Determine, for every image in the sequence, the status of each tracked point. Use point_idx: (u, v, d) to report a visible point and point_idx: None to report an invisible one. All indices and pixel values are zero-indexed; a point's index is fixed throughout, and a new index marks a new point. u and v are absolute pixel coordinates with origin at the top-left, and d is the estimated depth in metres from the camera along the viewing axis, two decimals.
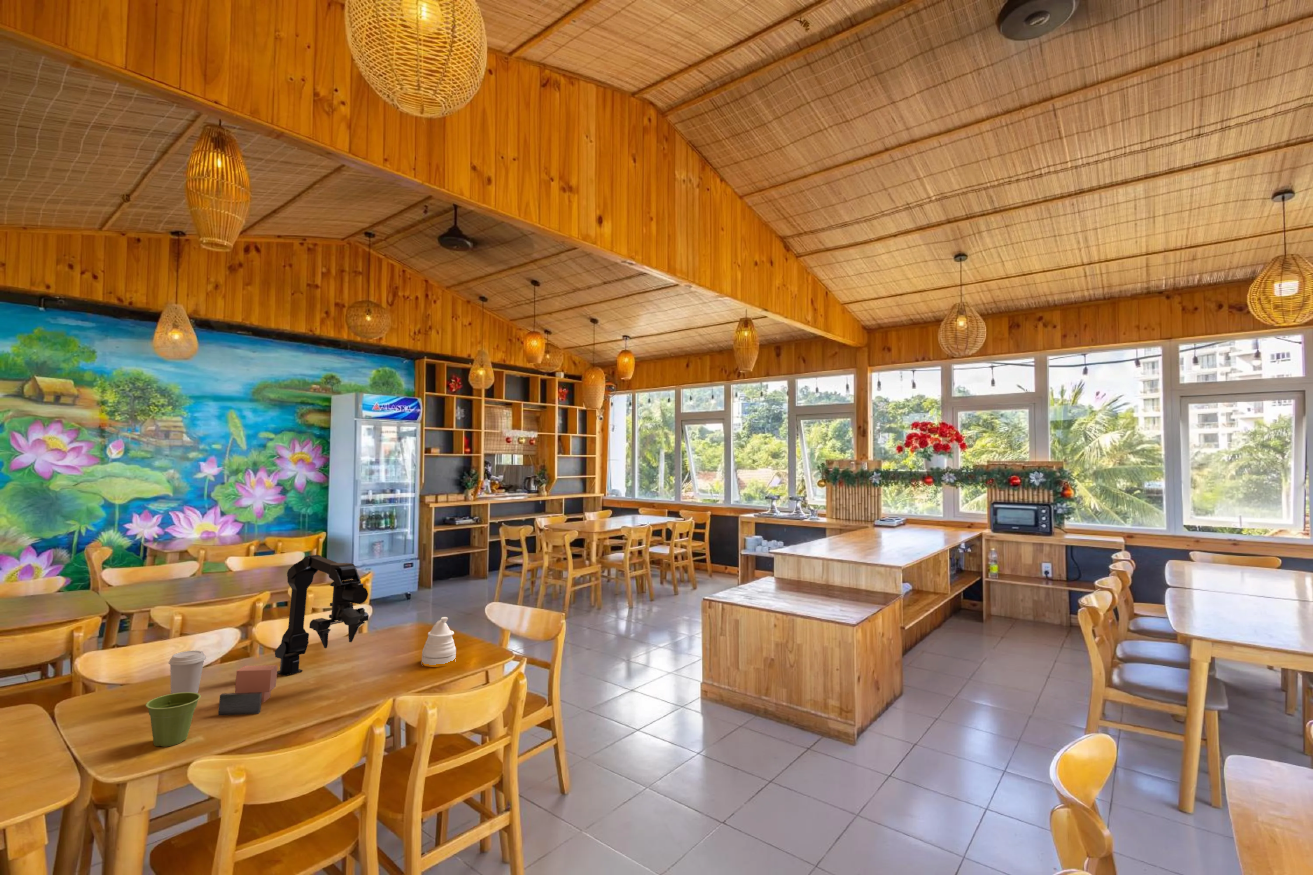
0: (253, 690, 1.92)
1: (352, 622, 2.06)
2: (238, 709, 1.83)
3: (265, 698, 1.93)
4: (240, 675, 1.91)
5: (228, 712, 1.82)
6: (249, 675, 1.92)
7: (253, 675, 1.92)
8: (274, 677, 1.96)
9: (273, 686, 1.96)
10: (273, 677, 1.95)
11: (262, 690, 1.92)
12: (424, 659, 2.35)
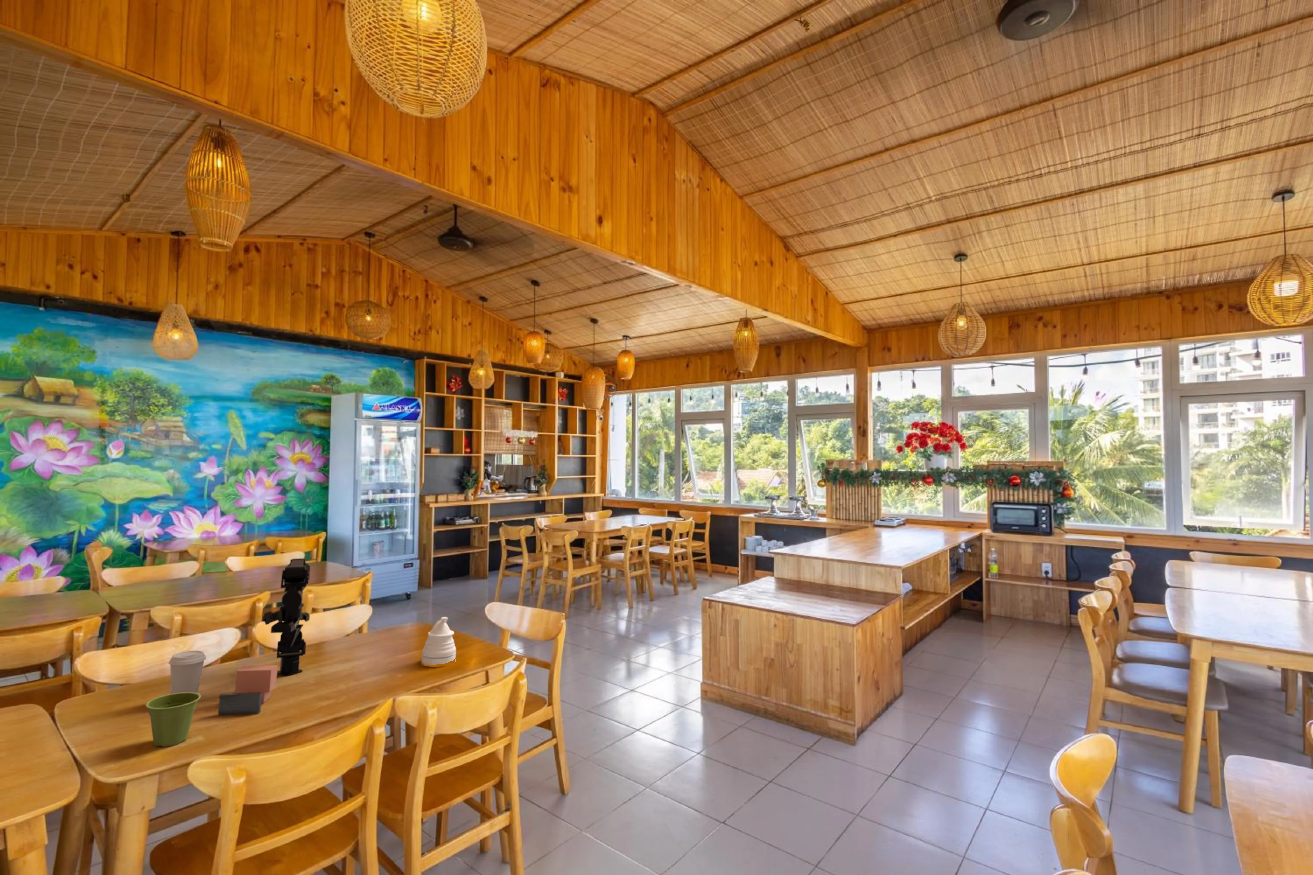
0: (253, 690, 1.92)
1: None
2: (238, 709, 1.83)
3: (265, 698, 1.93)
4: (240, 675, 1.91)
5: (228, 712, 1.82)
6: (249, 675, 1.92)
7: (253, 675, 1.92)
8: (274, 677, 1.96)
9: (273, 686, 1.96)
10: (273, 677, 1.95)
11: (262, 690, 1.92)
12: (424, 659, 2.35)
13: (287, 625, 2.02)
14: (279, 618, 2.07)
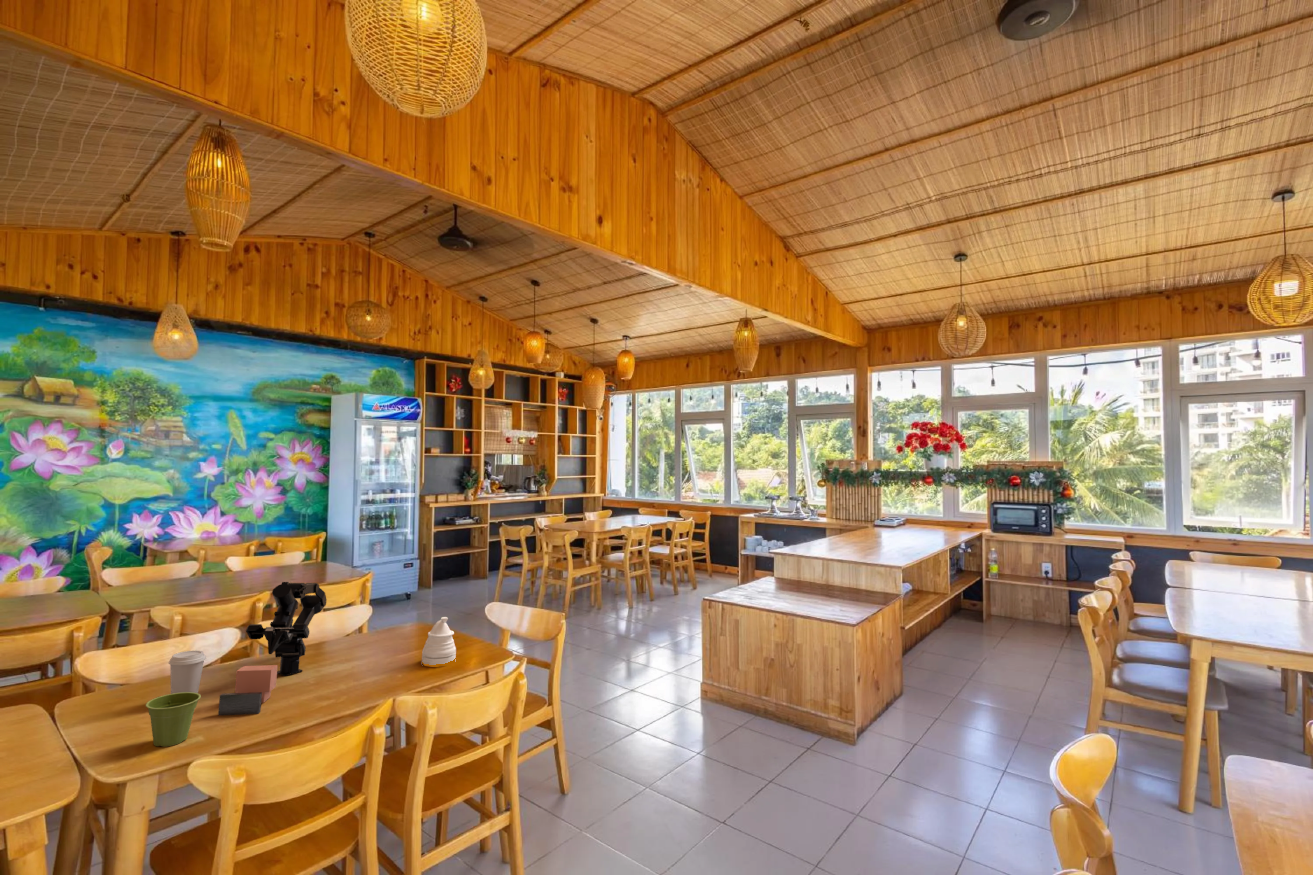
0: (253, 690, 1.92)
1: None
2: (238, 709, 1.83)
3: (265, 698, 1.93)
4: (240, 675, 1.91)
5: (228, 712, 1.82)
6: (249, 675, 1.92)
7: (253, 675, 1.92)
8: (274, 677, 1.96)
9: (273, 686, 1.96)
10: (273, 677, 1.95)
11: (262, 690, 1.92)
12: (424, 659, 2.35)
13: None
14: None
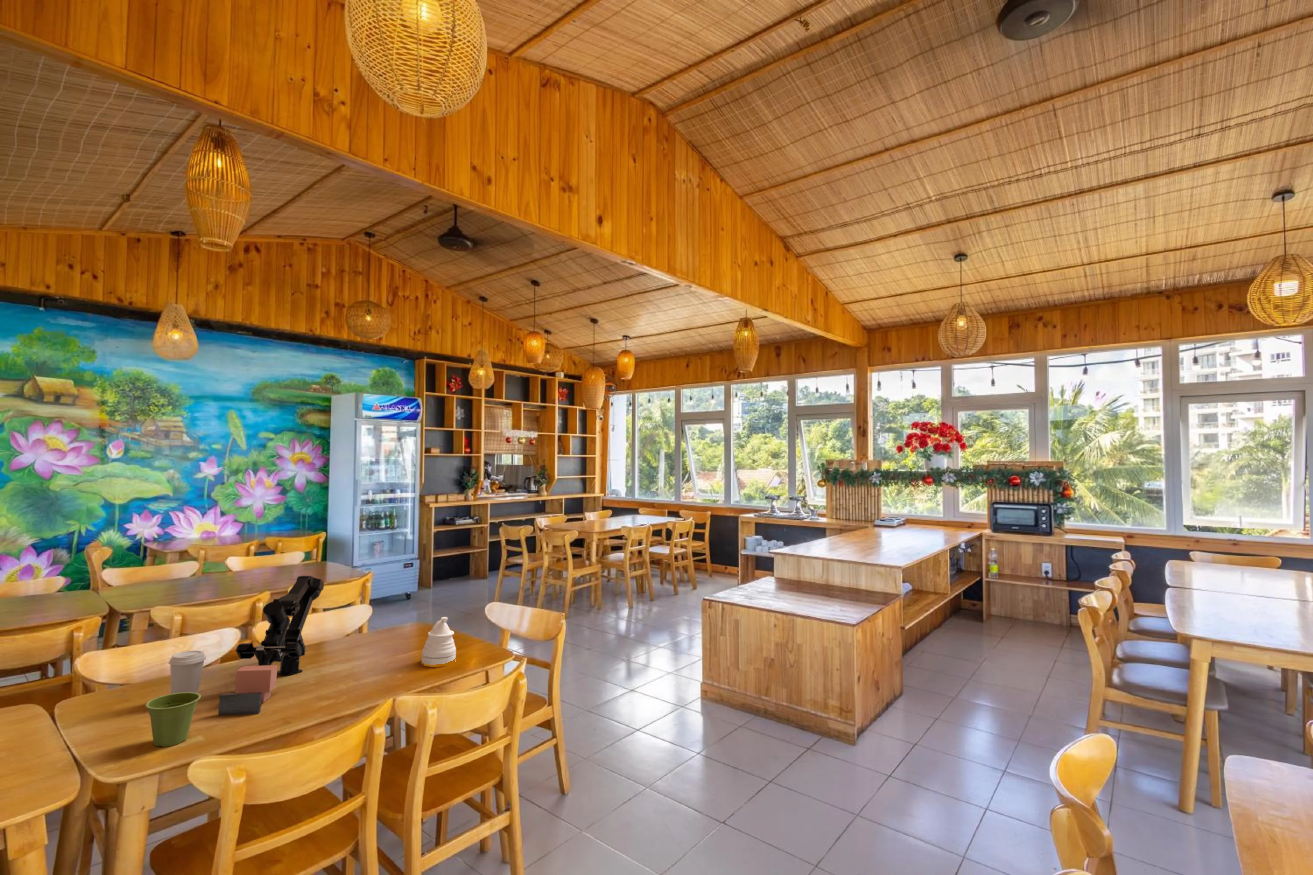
0: (253, 690, 1.92)
1: None
2: (238, 709, 1.83)
3: (265, 698, 1.93)
4: (240, 675, 1.91)
5: (228, 712, 1.82)
6: (249, 675, 1.92)
7: (252, 675, 1.92)
8: (274, 677, 1.96)
9: (273, 686, 1.96)
10: (273, 677, 1.95)
11: (262, 690, 1.92)
12: (424, 659, 2.35)
13: None
14: None
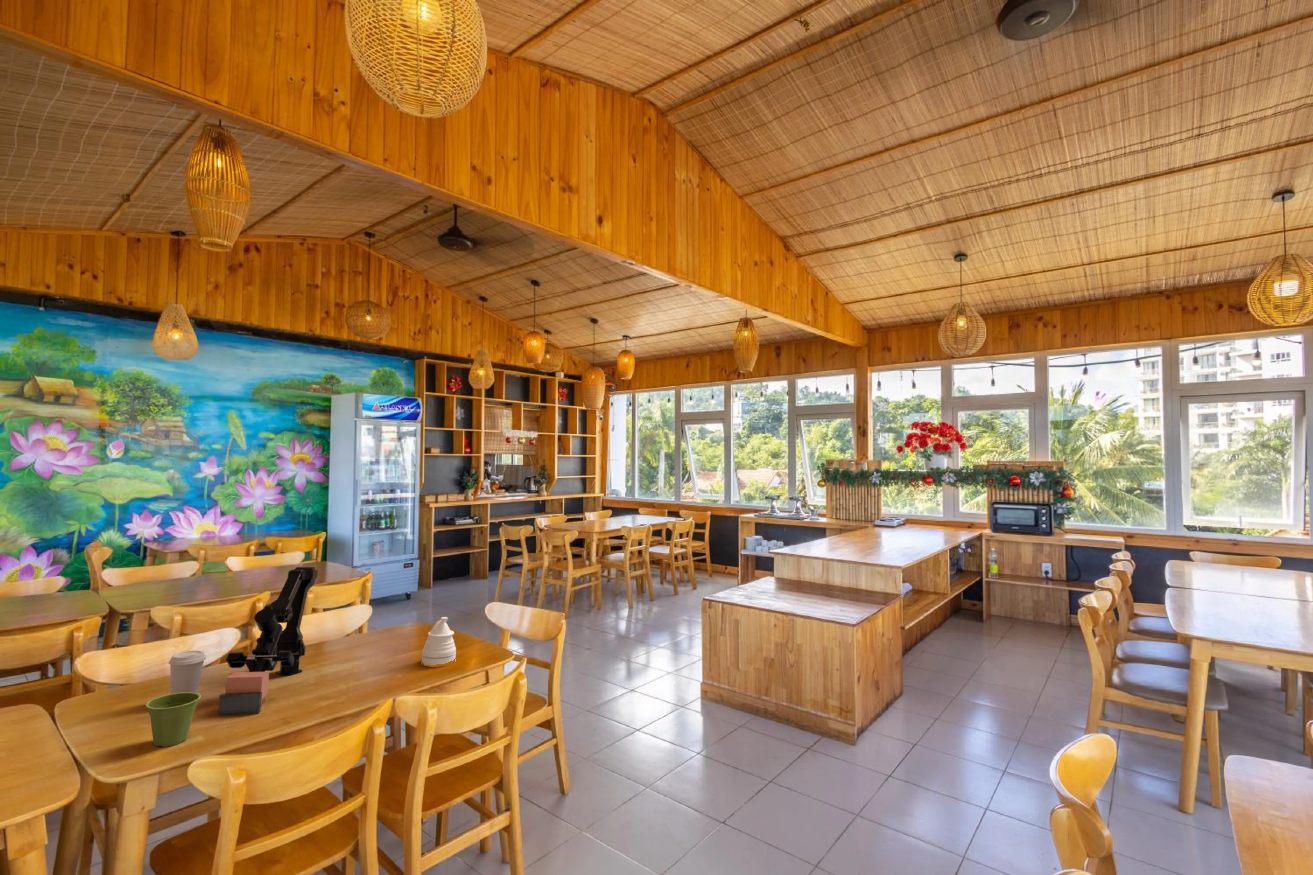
0: None
1: None
2: (238, 709, 1.83)
3: None
4: (230, 682, 1.85)
5: (228, 712, 1.82)
6: (239, 682, 1.85)
7: (243, 682, 1.86)
8: (265, 684, 1.90)
9: (264, 693, 1.89)
10: (264, 684, 1.89)
11: None
12: (424, 659, 2.35)
13: None
14: None
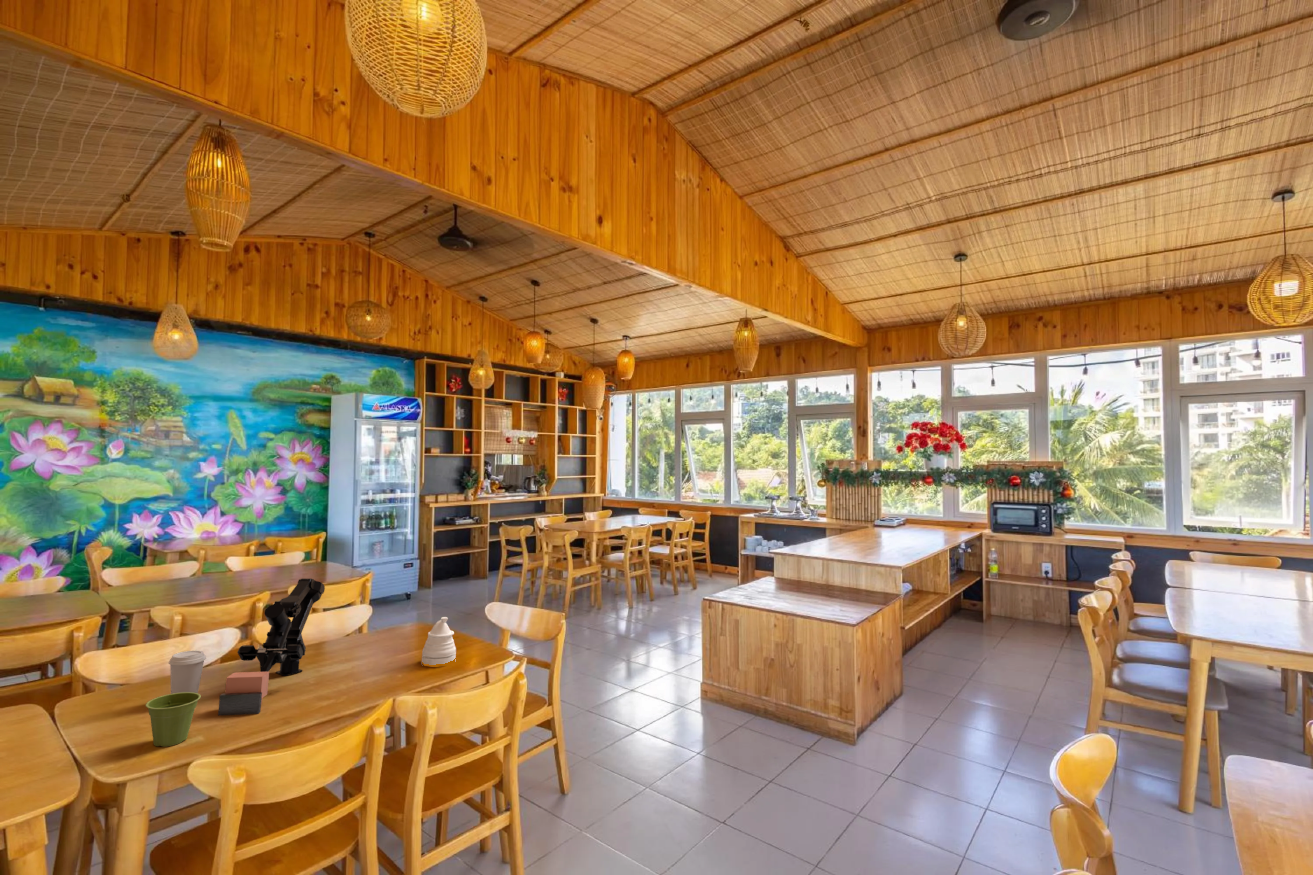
0: None
1: None
2: (238, 709, 1.83)
3: None
4: (230, 682, 1.85)
5: (228, 712, 1.82)
6: (239, 682, 1.85)
7: (243, 682, 1.86)
8: (265, 684, 1.90)
9: (264, 693, 1.89)
10: (264, 684, 1.89)
11: None
12: (424, 659, 2.35)
13: None
14: None
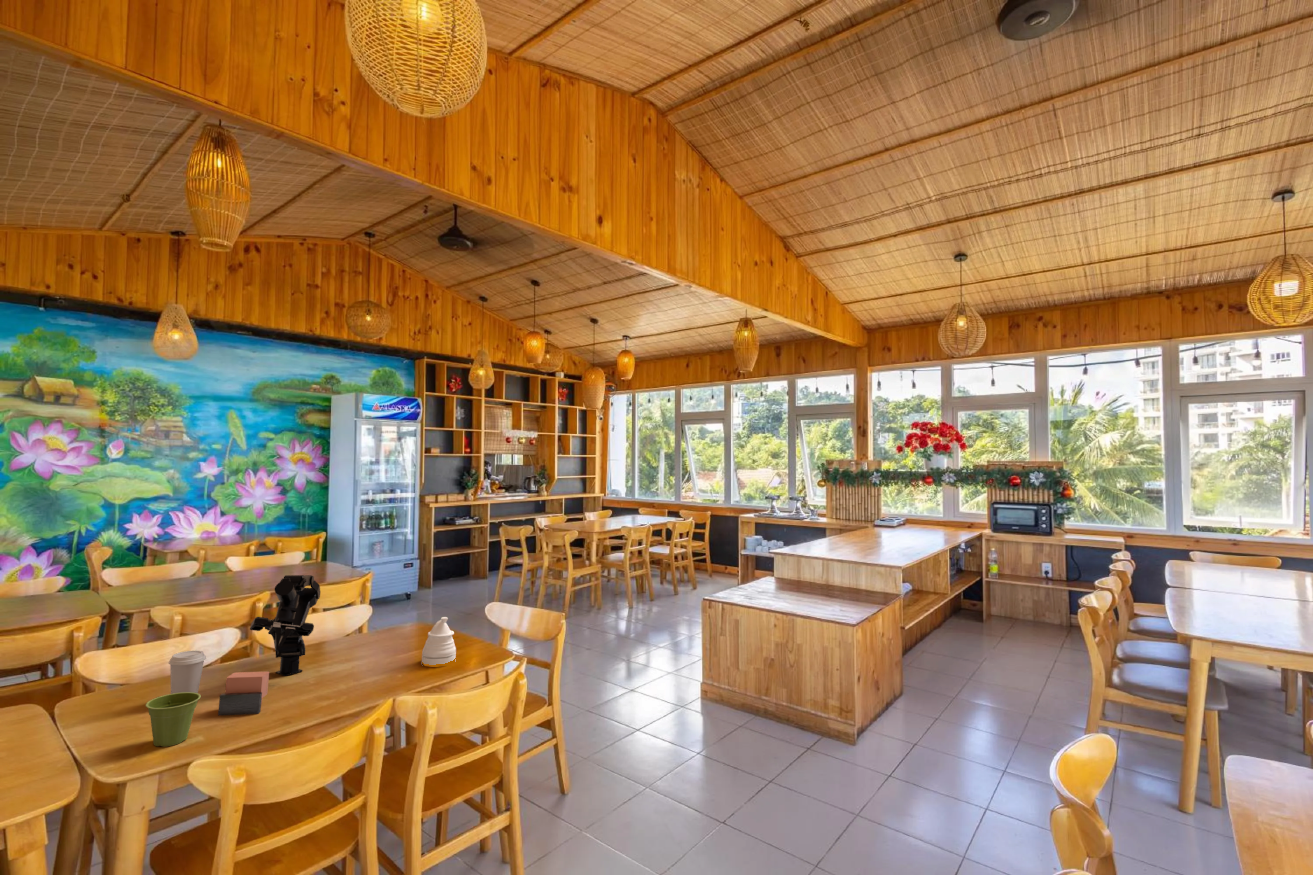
0: None
1: None
2: (238, 709, 1.83)
3: None
4: (230, 682, 1.85)
5: (228, 712, 1.82)
6: (239, 682, 1.85)
7: (243, 682, 1.86)
8: (265, 684, 1.90)
9: (264, 693, 1.89)
10: (264, 684, 1.89)
11: None
12: (424, 659, 2.35)
13: None
14: None
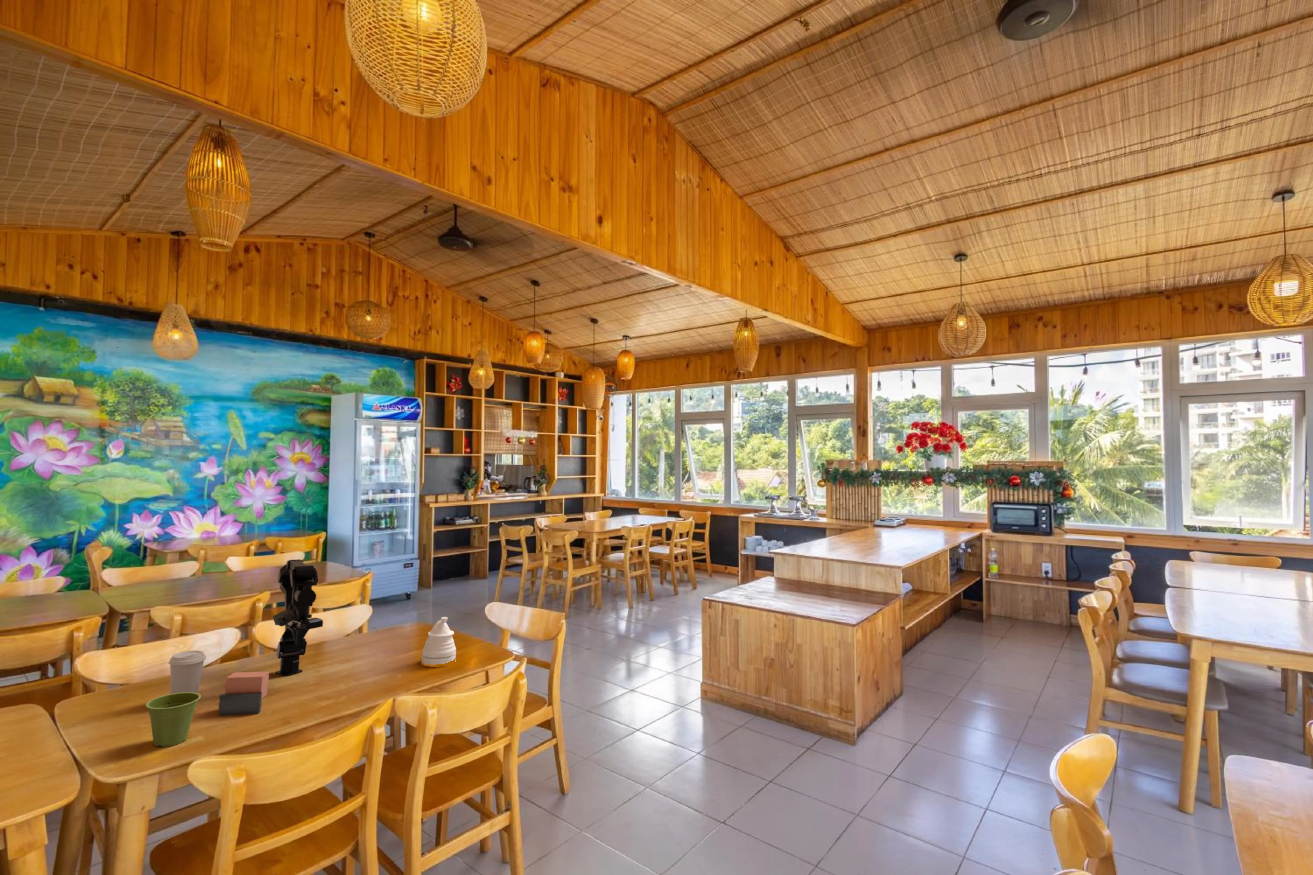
0: None
1: (276, 623, 2.07)
2: (238, 709, 1.83)
3: None
4: (230, 682, 1.85)
5: (228, 712, 1.82)
6: (239, 682, 1.85)
7: (243, 682, 1.86)
8: (265, 684, 1.90)
9: (264, 693, 1.89)
10: (264, 684, 1.89)
11: None
12: (424, 659, 2.35)
13: (320, 620, 2.11)
14: (296, 617, 2.09)
